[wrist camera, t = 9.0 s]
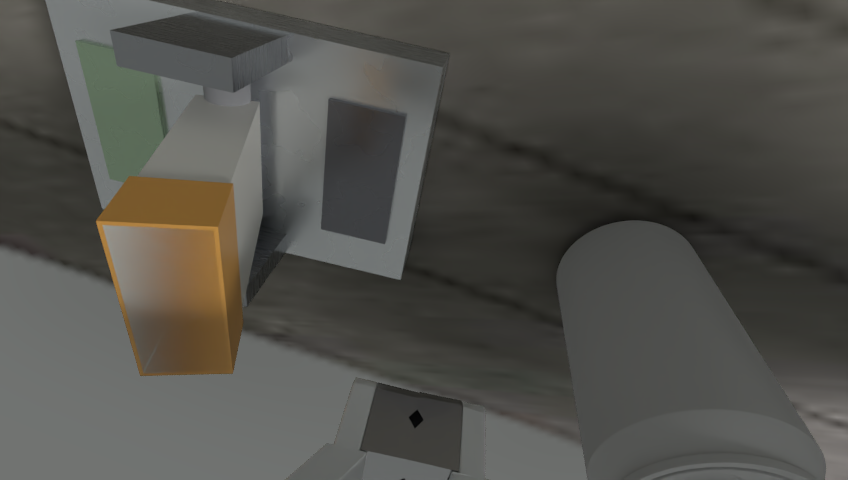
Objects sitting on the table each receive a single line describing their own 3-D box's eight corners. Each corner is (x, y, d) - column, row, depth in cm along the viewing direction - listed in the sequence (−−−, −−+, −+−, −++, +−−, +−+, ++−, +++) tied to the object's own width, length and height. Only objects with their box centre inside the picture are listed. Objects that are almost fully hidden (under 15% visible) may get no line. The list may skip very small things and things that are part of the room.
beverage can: (568, 323, 25) (612, 577, 15) (541, 229, 22) (575, 467, 12) (695, 303, 23) (846, 580, 13) (687, 195, 20) (874, 449, 10)
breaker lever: (263, 66, 17) (214, 188, 9) (267, 224, 21) (235, 394, 14) (194, 56, 16) (83, 178, 9) (212, 221, 20) (146, 397, 13)
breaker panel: (449, 53, 18) (427, 99, 12) (409, 250, 23) (382, 340, 18) (91, -29, 18) (-83, -18, 13) (136, 186, 24) (30, 255, 18)
